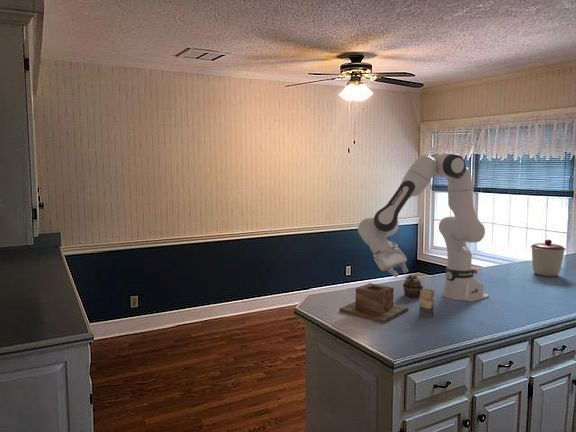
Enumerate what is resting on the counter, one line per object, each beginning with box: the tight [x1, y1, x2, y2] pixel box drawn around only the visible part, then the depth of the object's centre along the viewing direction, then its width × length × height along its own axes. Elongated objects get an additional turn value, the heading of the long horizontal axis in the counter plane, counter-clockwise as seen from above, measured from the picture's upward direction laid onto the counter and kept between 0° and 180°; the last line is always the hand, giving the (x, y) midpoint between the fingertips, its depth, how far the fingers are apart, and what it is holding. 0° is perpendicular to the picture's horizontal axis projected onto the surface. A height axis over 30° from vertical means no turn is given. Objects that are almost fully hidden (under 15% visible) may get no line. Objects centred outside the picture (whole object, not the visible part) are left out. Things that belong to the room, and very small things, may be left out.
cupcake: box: [402, 274, 424, 299], centre depth 228 cm, size 10×10×10 cm
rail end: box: [418, 288, 435, 319], centre depth 199 cm, size 4×4×11 cm
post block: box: [339, 282, 409, 324], centre depth 204 cm, size 22×22×10 cm
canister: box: [530, 239, 566, 277], centre depth 273 cm, size 18×18×21 cm
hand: (402, 274), depth 205 cm, fingers open, 8 cm apart
